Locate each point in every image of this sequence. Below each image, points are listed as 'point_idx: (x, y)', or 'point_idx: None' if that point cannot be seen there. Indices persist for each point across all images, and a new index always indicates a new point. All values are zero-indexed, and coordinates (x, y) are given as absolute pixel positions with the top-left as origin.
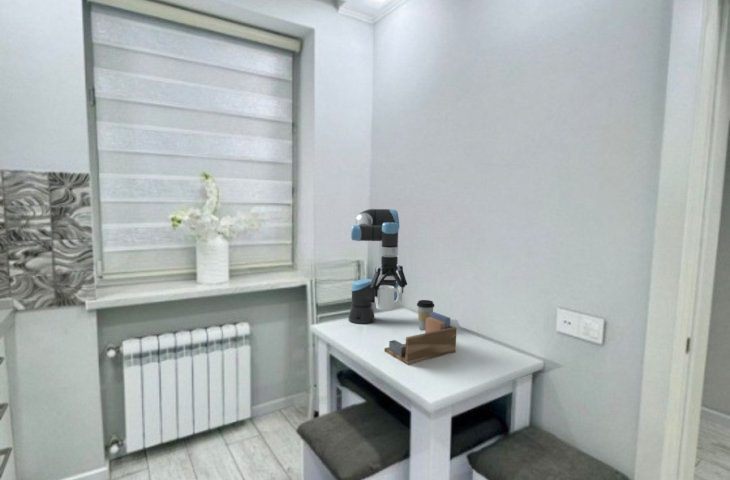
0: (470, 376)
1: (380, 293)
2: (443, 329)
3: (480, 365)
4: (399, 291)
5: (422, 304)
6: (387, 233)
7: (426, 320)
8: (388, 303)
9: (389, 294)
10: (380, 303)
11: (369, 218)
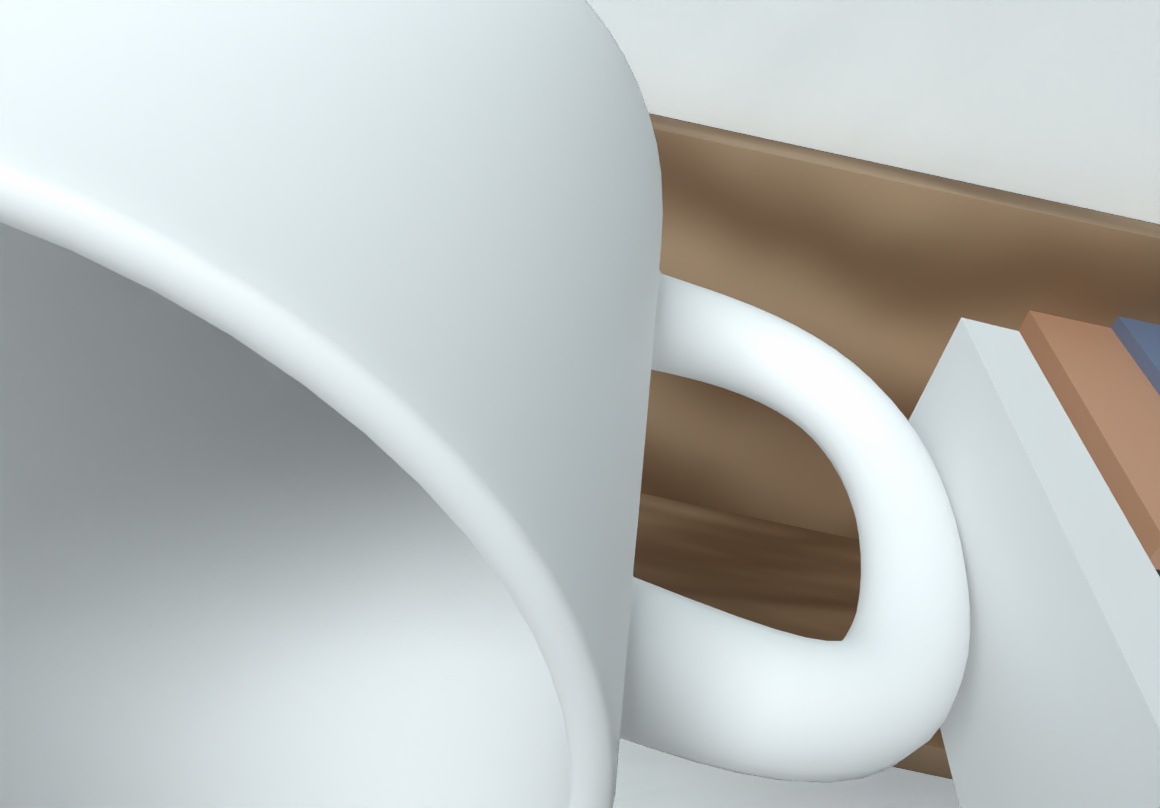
0: (648, 784)
1: None
2: (945, 755)
3: (876, 774)
4: (989, 677)
5: None
6: None
7: (1137, 526)
8: (260, 497)
9: (154, 738)
10: (63, 320)
11: None
